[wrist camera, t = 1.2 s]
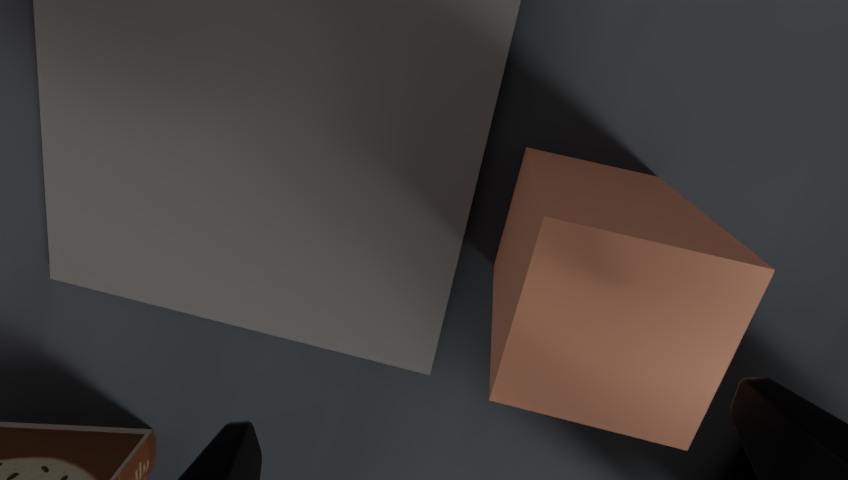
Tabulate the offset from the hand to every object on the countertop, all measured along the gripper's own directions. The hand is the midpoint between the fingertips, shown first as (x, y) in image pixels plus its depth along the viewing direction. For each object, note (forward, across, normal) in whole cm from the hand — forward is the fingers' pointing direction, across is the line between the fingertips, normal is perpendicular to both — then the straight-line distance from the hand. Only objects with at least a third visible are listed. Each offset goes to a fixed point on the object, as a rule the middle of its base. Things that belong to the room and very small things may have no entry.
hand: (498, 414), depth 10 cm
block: (+11, -5, +2) cm, 12 cm away
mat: (+14, +7, 0) cm, 16 cm away
